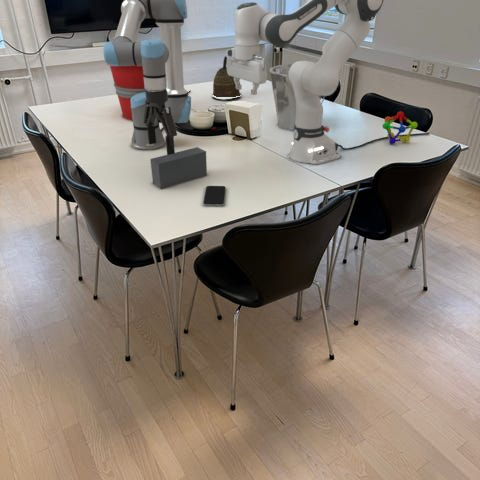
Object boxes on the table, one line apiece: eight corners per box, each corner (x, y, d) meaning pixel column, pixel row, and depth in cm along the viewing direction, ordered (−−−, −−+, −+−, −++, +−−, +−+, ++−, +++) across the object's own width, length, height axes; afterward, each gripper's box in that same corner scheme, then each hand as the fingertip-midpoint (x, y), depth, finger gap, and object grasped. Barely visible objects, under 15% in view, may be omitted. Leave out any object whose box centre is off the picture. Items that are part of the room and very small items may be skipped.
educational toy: (377, 146, 209) (379, 114, 202) (384, 138, 219) (386, 107, 211) (411, 149, 202) (415, 116, 195) (417, 141, 212) (420, 109, 204)
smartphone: (203, 204, 154) (206, 185, 167) (203, 205, 155) (206, 187, 167) (223, 204, 154) (225, 185, 167) (223, 206, 155) (225, 187, 167)
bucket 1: (122, 105, 263) (114, 51, 248) (180, 106, 263) (177, 52, 247) (105, 123, 234) (95, 63, 218) (171, 124, 233) (166, 64, 217)
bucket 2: (296, 138, 215) (301, 78, 201) (255, 124, 234) (256, 68, 219) (335, 125, 232) (342, 70, 217) (294, 113, 251) (297, 61, 236)
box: (160, 189, 166) (158, 163, 161) (152, 183, 171) (150, 158, 165) (206, 175, 178) (206, 151, 172) (198, 170, 182) (197, 146, 176)
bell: (227, 105, 294) (202, 96, 282) (238, 66, 289) (213, 55, 277) (243, 108, 280) (217, 98, 268) (255, 66, 275) (229, 55, 263)
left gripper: (184, 95, 145) (188, 156, 156) (148, 81, 162) (154, 137, 173) (164, 98, 141) (169, 161, 153) (129, 84, 158) (136, 141, 169)
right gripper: (271, 56, 156) (270, 96, 164) (236, 48, 170) (236, 85, 177) (257, 58, 153) (256, 98, 160) (223, 50, 167) (224, 88, 174)
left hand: (161, 148), depth 163 cm, fingers open, 13 cm apart
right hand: (246, 91), depth 169 cm, fingers open, 8 cm apart
